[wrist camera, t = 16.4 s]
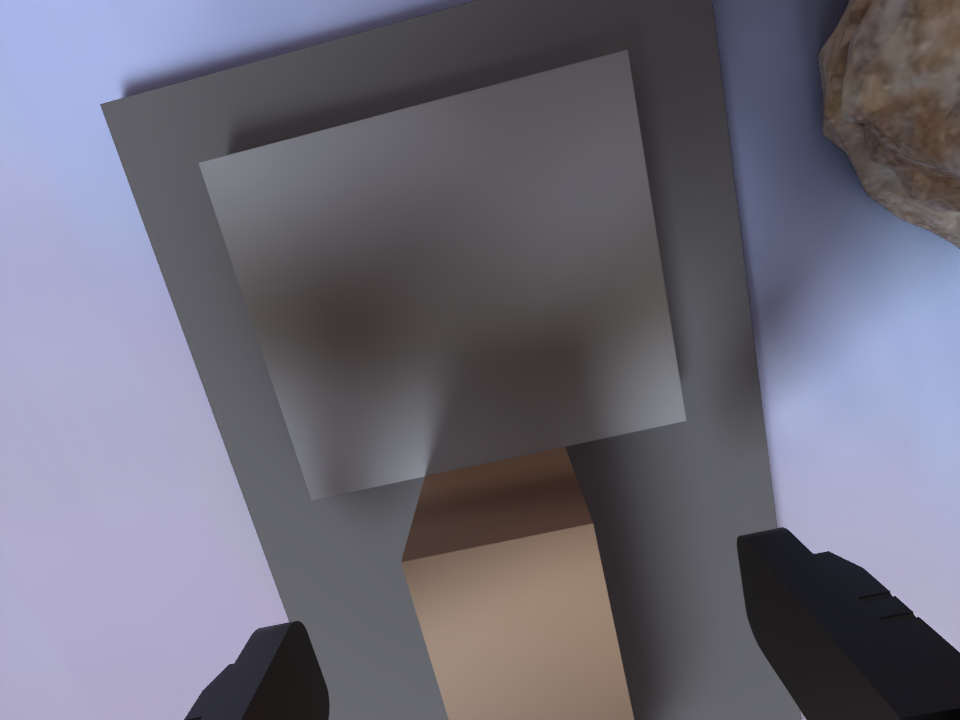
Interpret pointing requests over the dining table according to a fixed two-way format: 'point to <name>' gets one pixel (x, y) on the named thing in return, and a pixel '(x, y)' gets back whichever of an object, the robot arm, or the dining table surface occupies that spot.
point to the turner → (470, 354)
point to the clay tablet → (899, 106)
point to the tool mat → (597, 464)
